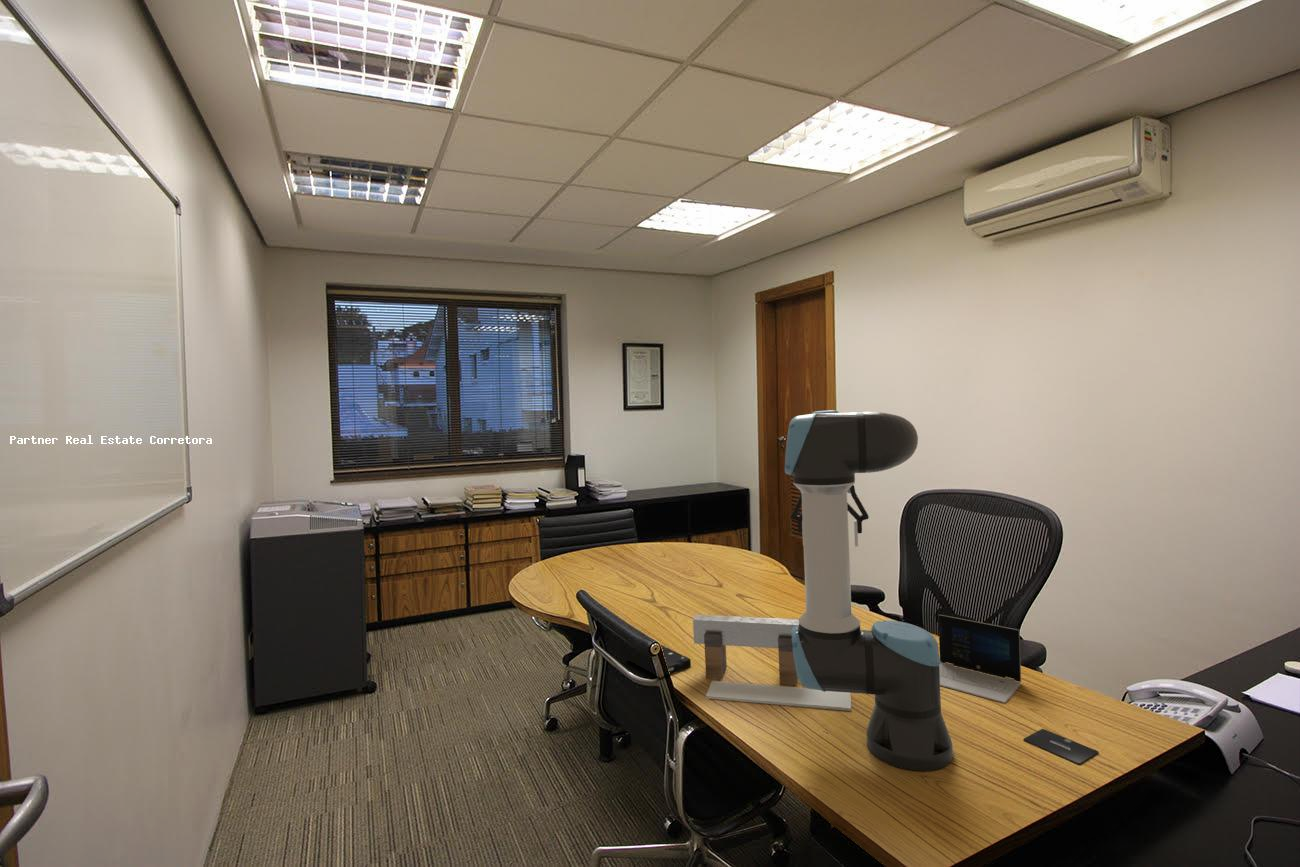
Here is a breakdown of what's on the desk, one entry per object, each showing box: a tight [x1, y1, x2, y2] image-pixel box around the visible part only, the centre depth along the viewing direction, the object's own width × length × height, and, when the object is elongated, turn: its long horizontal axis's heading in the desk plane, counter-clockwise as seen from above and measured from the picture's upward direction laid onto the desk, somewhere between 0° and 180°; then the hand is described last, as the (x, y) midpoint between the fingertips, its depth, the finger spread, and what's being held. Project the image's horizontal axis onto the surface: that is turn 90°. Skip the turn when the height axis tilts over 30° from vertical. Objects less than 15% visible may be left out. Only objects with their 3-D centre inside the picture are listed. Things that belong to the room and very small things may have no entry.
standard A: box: [777, 637, 799, 686], centre depth 150 cm, size 7×4×11 cm, turn 164°
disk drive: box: [660, 644, 692, 675], centre depth 162 cm, size 10×3×15 cm
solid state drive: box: [1022, 728, 1100, 766], centre depth 115 cm, size 7×10×1 cm
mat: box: [705, 680, 852, 712], centre depth 141 cm, size 8×32×1 cm, turn 74°
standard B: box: [703, 633, 728, 680], centre depth 155 cm, size 7×4×11 cm, turn 164°
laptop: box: [937, 614, 1022, 704], centre depth 143 cm, size 18×12×13 cm
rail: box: [692, 614, 799, 649], centre depth 152 cm, size 4×28×6 cm, turn 74°
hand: (830, 545), depth 167 cm, fingers open, 13 cm apart
